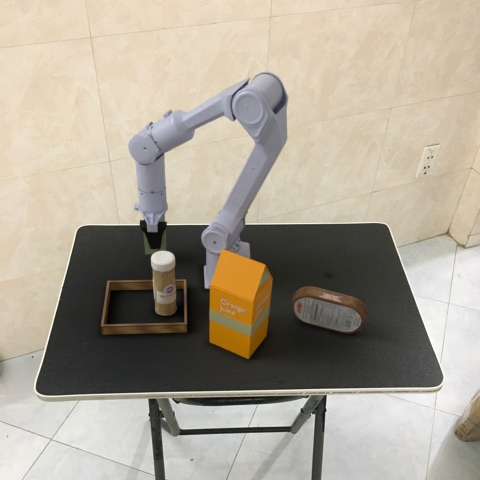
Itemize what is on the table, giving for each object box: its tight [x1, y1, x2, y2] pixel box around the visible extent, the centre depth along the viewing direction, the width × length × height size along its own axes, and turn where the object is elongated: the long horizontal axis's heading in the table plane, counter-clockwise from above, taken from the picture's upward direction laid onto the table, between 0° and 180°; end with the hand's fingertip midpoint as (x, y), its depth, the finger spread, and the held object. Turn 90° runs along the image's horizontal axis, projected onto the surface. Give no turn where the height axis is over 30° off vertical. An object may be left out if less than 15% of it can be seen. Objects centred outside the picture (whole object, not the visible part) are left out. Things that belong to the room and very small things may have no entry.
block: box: [142, 215, 167, 255], centre depth 121 cm, size 4×4×7 cm
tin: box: [290, 286, 369, 335], centre depth 109 cm, size 15×3×8 cm, turn 71°
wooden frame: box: [100, 278, 188, 336], centre depth 112 cm, size 16×14×2 cm
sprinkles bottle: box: [150, 250, 178, 317], centre depth 109 cm, size 5×5×13 cm
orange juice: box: [208, 249, 274, 360], centre depth 101 cm, size 8×9×20 cm
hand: (155, 241), depth 122 cm, fingers closed on block, 4 cm apart
